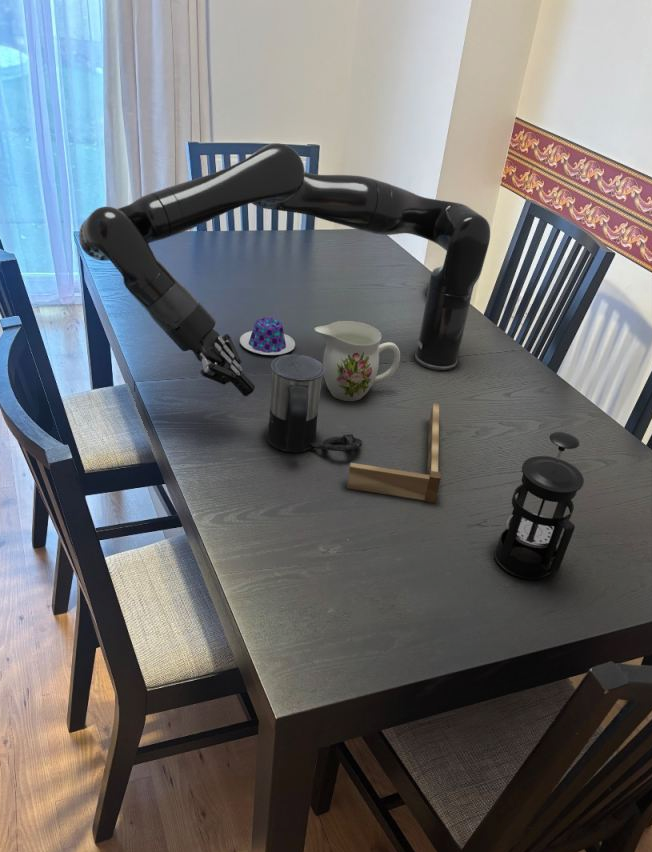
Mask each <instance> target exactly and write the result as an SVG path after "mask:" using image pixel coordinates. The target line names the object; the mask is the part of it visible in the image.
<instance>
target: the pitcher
mask: <svg viewBox="0 0 652 852" xmlns="http://www.w3.org/2000/svg"><path fill="white" fill-rule="evenodd" d="M313 330H314V331H315V333H317V334H319V335H320V336H321V337H322V338H323V340H324V343H325V348H324V352H323V357H322V365H323V366H324V369H325V371H324V373H323V378H324V381H325V384H326V387H327V389H328V390H329V392H330V394H331V395H332V396H333V398H336V399H338V400H341V401H346V402H354V401H358V400H361V399H362V398H363V397H364V396H366V394H367V393H368V392H369V390H370V389H371V387H372V386H373V385H374V384H378V383H381V382H384V381H386V380H388V379H390V378H391V377H392V376H393V375H394V374H395V373H396V372H397V370H398V368H399V365H400V361H401V352H400V349H399V347H398V346H397V344H395V343H394V342H391V341H389V342H383V343H381V341H382V336H383V335H382V333H381V331H380V330H379V329H377V328H376V327H375V326H373V325H370V324H367V323H364V322H361V321H354V320H339V321H334V322H331V323H329V324H326V325H320V326H319V325H318V326H316V327H314V329H313ZM385 350H390V351H392V353H393V362H392V364H391V366H390V367H389V368H388V369H387V370H386V371H384V372H383V373H381V374H378V371H379V367H380V366H379V365H380V353H381V352H383V351H385ZM377 374H378V375H377Z"/></svg>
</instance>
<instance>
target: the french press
mask: <svg viewBox="0 0 652 852" xmlns="http://www.w3.org/2000/svg"><path fill="white" fill-rule="evenodd" d="M549 440H550V441H551V443H552V444H554V445H555V446H557V450H558V453H557V457H553V456H548V455H547V456H546V455H537V456H532V457H528V458H527V459H526V460H525V461H524V462H523V463H522V465H521V474H522V476H521V484H519V485H518V486H517V487H516V488H515V489H514V491H513V495H512V497H511V504H512V505H511V506H512V507H513V508H512V513H511V515H510V516H509V517H508V518H507V520H506V529H504V530H503V531H502V532H501V533H500V536H499V539H498V542H497V545H496V546H495V548H494V550H493V558H494V559H493V560H494V561H495V563H496V564H497V566H498V567H499V569H501V571H503V572H504V573H506V574H507V575H509V576H511V577H513V578H516V579H519V580H523V581H529V582H530V581H531V582H534V581H539V580H541V581H542V580H544V579H546V578H547V577H549V576H550V575H551V574H552V573H554V572H558V571H559V570H560V569H561V568H560V567H561V565H562V562H563V560H564V557H565V555H566V552H567V549H568V547H569V544H570V542H571V539H572V537H573V534H574V531H575V528H576V525H575V524H574V523H573V522H572V521H571V518H572V515H573V512H574V509H575V507H574V506H575V505H574V502H573V500H572V499H574V498H575V497H576V496H577V493H578V492H579V491H580V490H581V489H582V488H583V486H584V482H585V480H584V479H585V478H584V477H583V474H582V472H581V471H580V470H579V469H578V468H577V467H575V466H574V465H573V464H571V463H569V462H568V461H565V460H563V459H561V456H562V454H563V453H562V452H564V451H565V450H566V449H567V450H572V449H573V450H574V449H576V448H578V447H580V441H579V439H578V438H577V437H576V436H575V435H573V434H570V433H568V432H565V431H554V432H552V433H550V434H549ZM528 493H530V494H531V495H532V496H534V497H536V498H538V499H541V500H542V501H541V504H540V506H539V509H538V511H537V512H536V513H535V512H531V511H529V510H527V509H525V507H524V505H525V502H526V500H527V495H528ZM516 496H517V497H516ZM546 501H547V502H551V503H553V502H554V503H557V504H556V507H555V509H554V512H553V515H552V517H551V518H550V517H546V516H544V515H542V512H543V511H542V510H543V508H544V506H545V502H546ZM567 508H568V511H569V513H568V514H567V515H565V512H566V510H567ZM564 515H565V516H564ZM517 545H518V546H524V547H527V548H529V549H530V548H531V549H533V550H534V551H536V552H537V553H538V554H540V556H541V557H542V560H541V562H532V561H531V562H530V561H525V560H522V559H520V558H518V557H516V556H514V555H512V554H511V553H512V550H513V547H514V546H517Z"/></svg>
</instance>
